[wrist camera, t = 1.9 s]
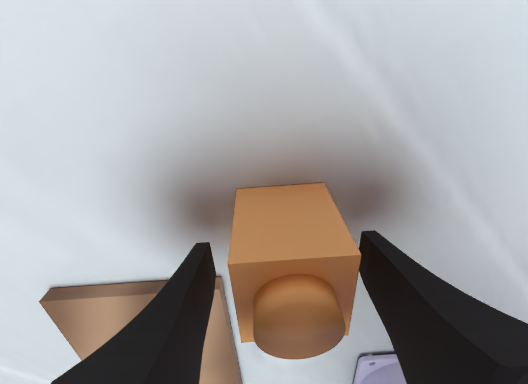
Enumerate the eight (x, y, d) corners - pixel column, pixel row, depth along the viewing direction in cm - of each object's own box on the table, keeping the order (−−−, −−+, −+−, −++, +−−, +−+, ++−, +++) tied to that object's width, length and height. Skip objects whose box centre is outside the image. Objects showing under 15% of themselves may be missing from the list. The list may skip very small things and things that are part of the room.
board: (221, 276, 17) (219, 289, 16) (242, 386, 24) (242, 399, 23) (50, 288, 17) (38, 301, 16) (121, 394, 24) (116, 408, 23)
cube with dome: (324, 182, 14) (375, 282, 8) (320, 249, 16) (357, 364, 10) (236, 188, 14) (224, 293, 8) (245, 254, 16) (240, 373, 10)
